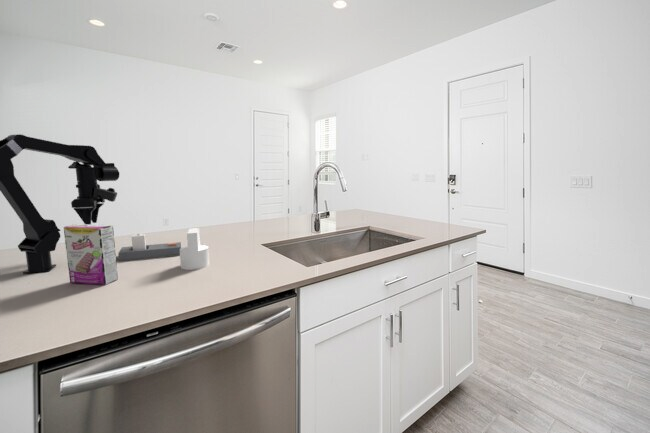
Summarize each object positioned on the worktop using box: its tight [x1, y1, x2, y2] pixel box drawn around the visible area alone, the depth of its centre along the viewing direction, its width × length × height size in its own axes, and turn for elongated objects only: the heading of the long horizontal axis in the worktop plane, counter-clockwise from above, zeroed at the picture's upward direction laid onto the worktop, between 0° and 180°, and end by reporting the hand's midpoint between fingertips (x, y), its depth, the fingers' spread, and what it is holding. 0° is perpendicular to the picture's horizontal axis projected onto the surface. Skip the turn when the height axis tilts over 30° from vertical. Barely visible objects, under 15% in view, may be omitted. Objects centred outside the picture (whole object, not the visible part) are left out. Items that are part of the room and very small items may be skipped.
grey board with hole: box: [117, 242, 182, 262], centre depth 119 cm, size 9×26×4 cm, turn 116°
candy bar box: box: [63, 223, 119, 286], centre depth 88 cm, size 11×5×16 cm, turn 84°
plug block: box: [131, 233, 147, 250], centre depth 115 cm, size 4×4×8 cm
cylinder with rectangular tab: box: [179, 227, 210, 271], centre depth 104 cm, size 9×9×12 cm
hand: (91, 224), depth 113 cm, fingers open, 9 cm apart
